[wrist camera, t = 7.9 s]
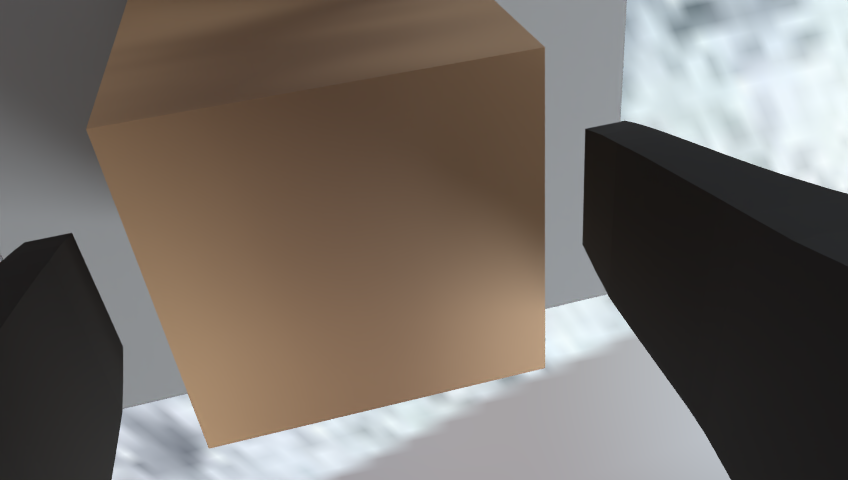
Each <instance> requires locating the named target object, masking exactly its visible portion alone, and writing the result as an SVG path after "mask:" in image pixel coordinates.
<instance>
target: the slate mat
mask: <svg viewBox="0 0 848 480" xmlns="http://www.w3.org/2000/svg"><path fill="white" fill-rule="evenodd" d="M495 1H496V2H497V3H498V4H499V5H500V6H501V7H502V8H503V9H504V10H505V11H506V12H508V13H509V14H510V15H511V16H512V17H513V18H514V19H515V20H516V21H517V22H518V23H519V24H521V25H522V26H523V27H524V28H525V29H526V30H527V31H528V32H529V33H530V34H531V35H532V36H533V37H535V38H536V39H537V40H538V41H539V42H540V43H541V44H542V45H543V46H544V47H545V309H547V308H551V307H555V306H560V305H564V304H568V303H572V302H576V301H581V300H585V299H589V298H593V297H598V296H602V295H606V294H607V292H606V290H605V288H604V286H603V284H602V283H601V281H600V279H599V277H598V275H597V273H596V271H595V269H594V267H593V265H592V263H591V261H590V259H589V257H588V255H587V253H586V251H585V249H584V247H583V245H582V240H583V199H584V158H585V129H587V128H592V127H597V126H601V125H606V124H611V123H616V122H620V117H621V98H622V79H623V60H624V41H625V22H626V3H627V0H495ZM126 3H127V0H0V254H1V256H2V258H3V260H4V259H5V258H6V257H7V256H8V255H9V254H10V253H12V252H13V251H14V250H15V249H16V248H18V247H19V246H20V245H22V244H23V243H24V242H29V241H33V240H38V239H43V238H48V237H53V236H58V235H63V234H68V233H72V234H73V236H74V238H75V240H76V243H77V245H78V247H79V249H80V252H81V254H82V256H83V258H84V260H85V263H86V265H87V267H88V269H89V272H90V274H91V276H92V278H93V281H94V283H95V285H96V287H97V289H98V292H99V294H100V296H101V298H102V301H103V303H104V305H105V307H106V310H107V312H108V314H109V316H110V318H111V321H112V323H113V325H114V327H115V330H116V332H117V334H118V336H119V338H120V341H121V343H122V345H123V408H122V409H124V408H129V407H133V406H137V405H141V404H146V403H150V402H154V401H158V400H162V399H167V398H171V397H175V396H179V395H184V394H188V393H187V390H186V387H185V385H184V382H183V380H182V377H181V374H180V372H179V369H178V367H177V364H176V361H175V359H174V356H173V354H172V351H171V348H170V346H169V343H168V341H167V338H166V335H165V333H164V330H163V328H162V325H161V322H160V320H159V317H158V315H157V312H156V309H155V307H154V304H153V302H152V299H151V296H150V294H149V291H148V289H147V286H146V283H145V281H144V278H143V276H142V273H141V270H140V268H139V265H138V263H137V260H136V257H135V255H134V252H133V250H132V247H131V244H130V242H129V239H128V237H127V234H126V231H125V229H124V226H123V224H122V221H121V218H120V216H119V213H118V211H117V208H116V206H115V203H114V200H113V198H112V195H111V193H110V190H109V187H108V185H107V182H106V180H105V177H104V174H103V172H102V169H101V167H100V164H99V161H98V159H97V156H96V154H95V151H94V148H93V146H92V143H91V141H90V138H89V135H88V133H87V130H86V128H87V125H88V121H89V118H90V115H91V112H92V109H93V106H94V103H95V100H96V97H97V94H98V90H99V87H100V84H101V81H102V78H103V75H104V72H105V69H106V66H107V62H108V59H109V56H110V53H111V50H112V47H113V44H114V41H115V38H116V35H117V31H118V28H119V25H120V22H121V19H122V16H123V13H124V10H125V7H126Z"/></svg>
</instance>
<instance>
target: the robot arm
mask: <svg viewBox="0 0 848 480" xmlns="http://www.w3.org/2000/svg"><path fill="white" fill-rule="evenodd" d="M582 245H583V247H584V249H585V251H586V253H587V255H588V257H589V259H590V261H591V263H592V265H593V267H594V269H595V271H596V273H597V275H598V277H599V279H600V281H601V283H602V284H603V286H604V288H605V290H606V292H607V294H608V296H609V297H610V299H611V300H612V302H613V303H614V305H615V306H616V308H617V309H618V311H619V312H620V313H621V315H622V316H623V318H624V319H625V320H626V322H627V323H628V325H629V326H630V328H631V329H632V330H633V332H634V333H635V335H636V336H637V337H638V339H639V340H640V342H641V343H642V344H643V346H644V347H645V348H646V350H647V351H648V353H649V354H650V355H651V357H652V358H653V360H654V361H655V362H656V364H657V365H658V367H659V368H660V369H661V371H662V372H663V373H664V375H665V376H666V378H667V379H668V380H669V382H670V383H671V385H672V386H673V387H674V389H675V390H676V392H677V393H678V394H679V396H680V397H681V398H682V400H683V401H684V403H685V404H686V405H687V407H688V408H689V410H690V411H691V413H692V414H693V416H694V417H695V419H696V421H697V422H698V424H699V425H700V427H701V428H702V429H703V431H704V433H705V434H706V436H707V438H708V440H709V441H710V443H711V445H712V447H713V448H714V450H715V452H716V454H717V456H718V457H719V459H720V461H721V463H722V464H723V466H724V468H725V470H726V471H727V473H728V475H729V477H730V479H731V480H848V194H846V193H843V192H839V191H835V190H832V189H828V188H825V187H821V186H818V185H815V184H812V183H808V182H805V181H802V180H799V179H795V178H792V177H789V176H786V175H782V174H779V173H776V172H773V171H770V170H768V169H765V168H762V167H759V166H756V165H753V164H750V163H747V162H744V161H741V160H739V159H736V158H733V157H730V156H728V155H725V154H722V153H719V152H717V151H714V150H711V149H709V148H706V147H703V146H700V145H698V144H695V143H692V142H690V141H687V140H684V139H681V138H679V137H676V136H673V135H670V134H668V133H665V132H662V131H659V130H656V129H653V128H650V127H647V126H644V125H640V124H637V123H632V122H628V121H621V122H616V123H611V124H606V125H601V126H597V127H592V128H587V129H585V158H584V199H583V240H582ZM122 408H123V345H122V343H121V341H120V338H119V336H118V334H117V332H116V330H115V327H114V325H113V323H112V321H111V318H110V316H109V314H108V312H107V310H106V307H105V305H104V303H103V301H102V298H101V296H100V294H99V292H98V289H97V287H96V285H95V283H94V281H93V278H92V276H91V274H90V272H89V269H88V267H87V265H86V263H85V260H84V258H83V256H82V254H81V252H80V249H79V247H78V245H77V243H76V240H75V238H74V236H73V234H72V233H68V234H63V235H58V236H53V237H48V238H43V239H38V240H33V241H29V242H24V243H23V244H22V245H20V246H19V247H18V248H16V249H15V250H14V251H13V252H12V253H10V254H9V255H8V256H7V257H6V258H5V259H4V260H3V261H1V262H0V480H111V479H112V473H113V467H114V461H115V455H116V449H117V442H118V436H119V430H120V423H121V417H122Z"/></svg>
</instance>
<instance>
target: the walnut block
mask: <svg viewBox="0 0 848 480" xmlns="http://www.w3.org/2000/svg"><path fill="white" fill-rule="evenodd" d="M86 130H87V133H88V135H89V138H90V141H91V143H92V146H93V148H94V151H95V154H96V156H97V159H98V161H99V164H100V167H101V169H102V172H103V174H104V177H105V180H106V182H107V185H108V187H109V190H110V193H111V195H112V198H113V200H114V203H115V206H116V208H117V211H118V213H119V216H120V218H121V221H122V224H123V226H124V229H125V231H126V234H127V237H128V239H129V242H130V244H131V247H132V250H133V252H134V255H135V257H136V260H137V263H138V265H139V268H140V270H141V273H142V276H143V278H144V281H145V283H146V286H147V289H148V291H149V294H150V296H151V299H152V302H153V304H154V307H155V309H156V312H157V315H158V317H159V320H160V322H161V325H162V328H163V330H164V333H165V335H166V338H167V341H168V343H169V346H170V348H171V351H172V354H173V356H174V359H175V361H176V364H177V367H178V369H179V372H180V374H181V377H182V380H183V382H184V385H185V387H186V390H187V393H188V395H189V398H190V400H191V403H192V406H193V408H194V411H195V413H196V416H197V419H198V421H199V424H200V426H201V429H202V432H203V434H204V437H205V439H206V442H207V445H208V447H209V448H213V447H218V446H222V445H226V444H230V443H234V442H238V441H243V440H247V439H251V438H255V437H259V436H263V435H268V434H272V433H276V432H280V431H284V430H288V429H293V428H297V427H301V426H305V425H309V424H313V423H318V422H322V421H326V420H330V419H334V418H338V417H343V416H347V415H351V414H355V413H359V412H363V411H368V410H372V409H376V408H380V407H384V406H388V405H393V404H397V403H401V402H405V401H409V400H413V399H418V398H422V397H426V396H430V395H434V394H438V393H443V392H447V391H451V390H455V389H459V388H463V387H468V386H472V385H476V384H480V383H484V382H488V381H493V380H497V379H501V378H505V377H509V376H513V375H518V374H522V373H526V372H530V371H534V370H538V369H543V368H545V47H544V46H543V45H542V44H541V43H540V42H539V41H538V40H537V39H536V38H535V37H533V36H532V35H531V34H530V33H529V32H528V31H527V30H526V29H525V28H524V27H523V26H522V25H521V24H519V23H518V22H517V21H516V20H515V19H514V18H513V17H512V16H511V15H510V14H509V13H508V12H506V11H505V10H504V9H503V8H502V7H501V6H500V5H499V4H498V3H497V2H496V1H495V0H127V3H126V7H125V10H124V13H123V16H122V19H121V22H120V25H119V28H118V31H117V35H116V38H115V41H114V44H113V47H112V50H111V53H110V56H109V59H108V62H107V66H106V69H105V72H104V75H103V78H102V81H101V84H100V87H99V90H98V94H97V97H96V100H95V103H94V106H93V109H92V112H91V115H90V118H89V121H88V125H87V128H86Z"/></svg>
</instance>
